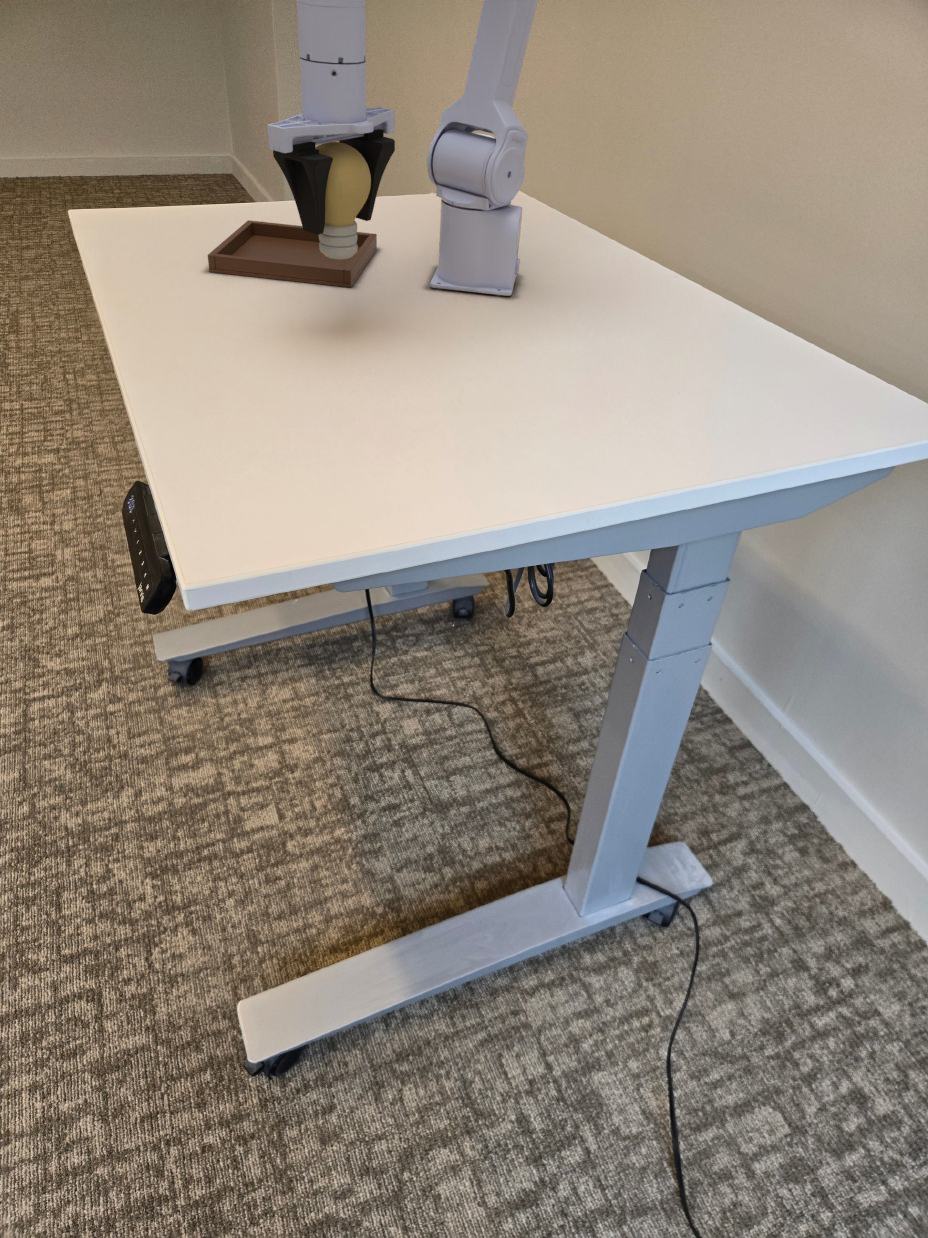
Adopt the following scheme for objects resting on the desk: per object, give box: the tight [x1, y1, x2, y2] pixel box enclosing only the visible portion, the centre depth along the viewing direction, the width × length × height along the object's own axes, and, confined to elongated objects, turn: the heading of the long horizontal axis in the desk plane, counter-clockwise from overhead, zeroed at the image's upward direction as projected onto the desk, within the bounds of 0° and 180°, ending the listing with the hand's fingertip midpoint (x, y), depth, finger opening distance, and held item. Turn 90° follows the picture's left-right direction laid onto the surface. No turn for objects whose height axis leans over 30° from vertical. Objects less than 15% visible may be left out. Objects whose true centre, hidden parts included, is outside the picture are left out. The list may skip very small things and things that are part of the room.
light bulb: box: [316, 141, 371, 259], centre depth 83 cm, size 6×6×10 cm
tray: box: [207, 220, 378, 288], centre depth 104 cm, size 17×15×2 cm
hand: (337, 224), depth 84 cm, fingers closed on light bulb, 6 cm apart
